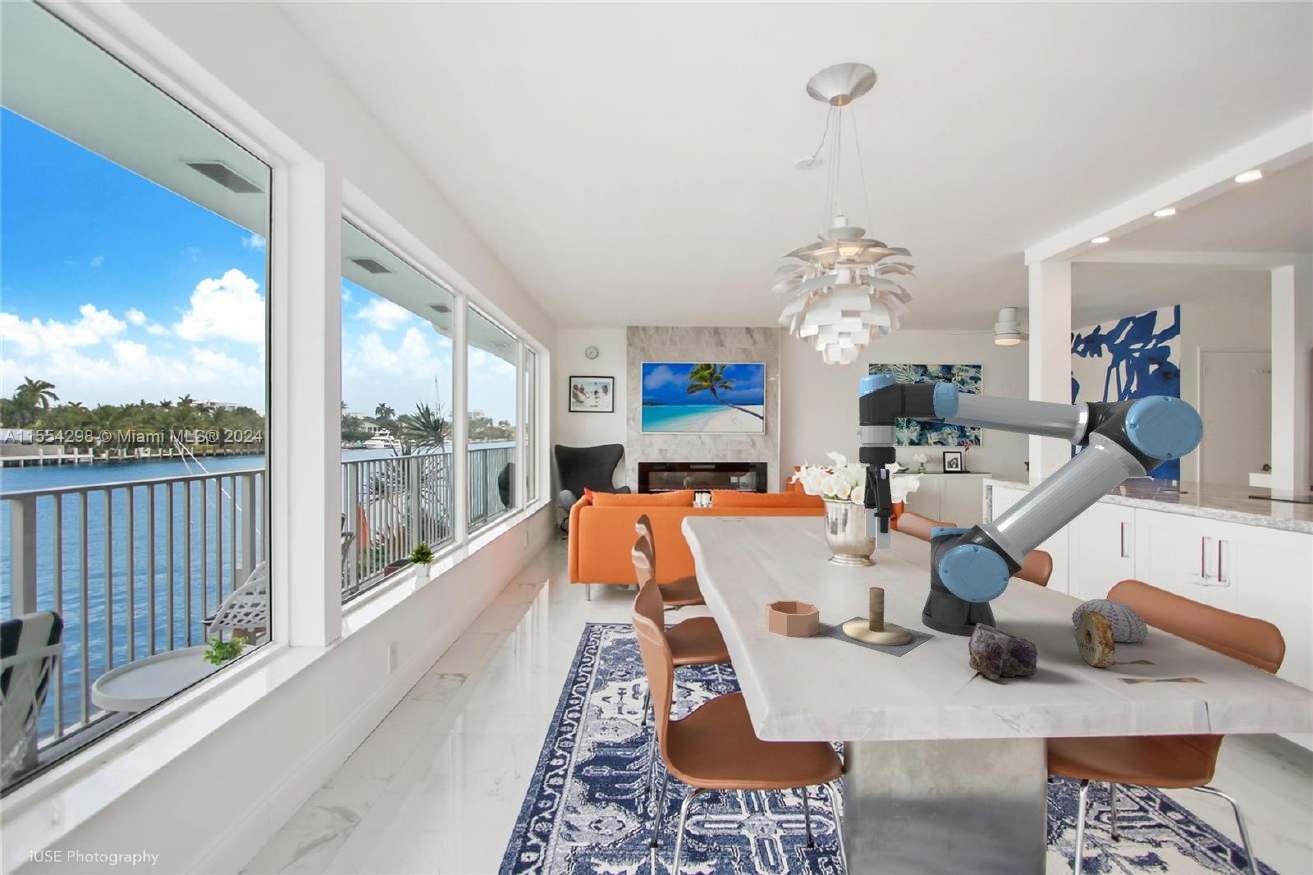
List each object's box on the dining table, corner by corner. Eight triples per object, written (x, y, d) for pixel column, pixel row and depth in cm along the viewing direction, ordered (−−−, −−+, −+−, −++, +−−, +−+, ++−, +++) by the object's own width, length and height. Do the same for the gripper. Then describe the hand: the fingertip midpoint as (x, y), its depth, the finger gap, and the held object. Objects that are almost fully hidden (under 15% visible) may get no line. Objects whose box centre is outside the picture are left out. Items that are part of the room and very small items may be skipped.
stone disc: (1120, 675, 106) (1120, 621, 106) (1096, 673, 107) (1096, 619, 107) (1095, 655, 116) (1095, 605, 116) (1073, 653, 117) (1074, 604, 117)
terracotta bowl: (826, 630, 129) (826, 608, 129) (799, 642, 122) (799, 618, 122) (785, 618, 137) (785, 597, 137) (757, 629, 130) (757, 607, 130)
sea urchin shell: (1061, 624, 135) (1062, 590, 135) (1129, 629, 132) (1130, 594, 132) (1087, 643, 122) (1087, 606, 122) (1163, 650, 119) (1163, 611, 119)
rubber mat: (935, 637, 125) (935, 635, 125) (899, 658, 113) (899, 656, 113) (857, 618, 138) (857, 616, 138) (818, 635, 126) (818, 633, 126)
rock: (1041, 690, 102) (1004, 666, 112) (1050, 643, 102) (1011, 623, 112) (979, 681, 101) (947, 657, 111) (987, 634, 101) (955, 614, 111)
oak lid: (921, 635, 125) (922, 589, 125) (894, 651, 116) (894, 602, 116) (861, 620, 135) (861, 577, 135) (830, 633, 126) (831, 588, 126)
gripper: (851, 444, 138) (851, 532, 138) (868, 446, 114) (868, 552, 114) (884, 445, 137) (883, 533, 137) (909, 446, 112) (908, 554, 112)
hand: (877, 542), depth 125 cm, fingers open, 13 cm apart
